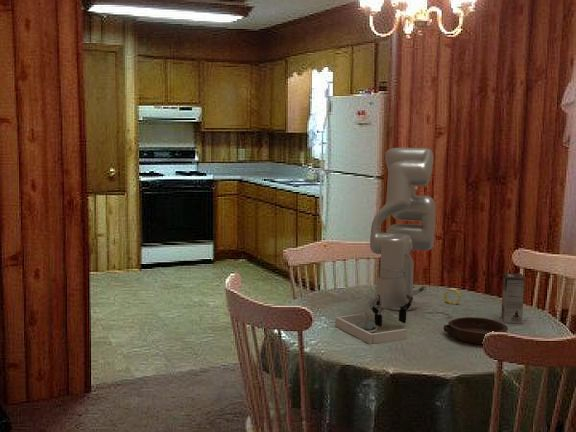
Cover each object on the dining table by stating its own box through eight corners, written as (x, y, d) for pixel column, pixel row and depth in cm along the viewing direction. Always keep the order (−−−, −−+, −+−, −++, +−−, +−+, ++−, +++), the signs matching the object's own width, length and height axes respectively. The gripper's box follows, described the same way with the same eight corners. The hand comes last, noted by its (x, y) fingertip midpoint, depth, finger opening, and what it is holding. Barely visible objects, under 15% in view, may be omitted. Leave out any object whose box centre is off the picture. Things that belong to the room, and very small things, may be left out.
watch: (460, 304, 254) (462, 289, 253) (458, 306, 251) (460, 291, 250) (445, 301, 257) (446, 286, 256) (443, 303, 254) (444, 288, 253)
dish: (451, 327, 222) (451, 313, 222) (518, 337, 211) (519, 322, 211) (435, 340, 207) (436, 325, 207) (507, 352, 196) (508, 336, 196)
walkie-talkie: (407, 299, 261) (426, 290, 277) (407, 288, 260) (427, 280, 277) (387, 296, 266) (407, 287, 282) (387, 285, 265) (407, 277, 282)
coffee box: (500, 316, 237) (502, 272, 235) (519, 317, 235) (521, 273, 233) (503, 322, 228) (505, 277, 226) (522, 324, 226) (525, 278, 224)
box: (335, 325, 222) (335, 317, 222) (368, 321, 228) (368, 312, 228) (370, 344, 202) (370, 334, 202) (406, 338, 208) (406, 329, 208)
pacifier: (380, 330, 219) (364, 326, 222) (381, 311, 218) (365, 308, 221) (370, 335, 213) (354, 331, 216) (371, 316, 212) (355, 313, 215)
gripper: (406, 269, 225) (404, 318, 227) (363, 273, 217) (362, 323, 219) (419, 273, 218) (418, 323, 220) (376, 278, 211) (374, 329, 213)
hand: (390, 323), depth 220 cm, fingers open, 9 cm apart
